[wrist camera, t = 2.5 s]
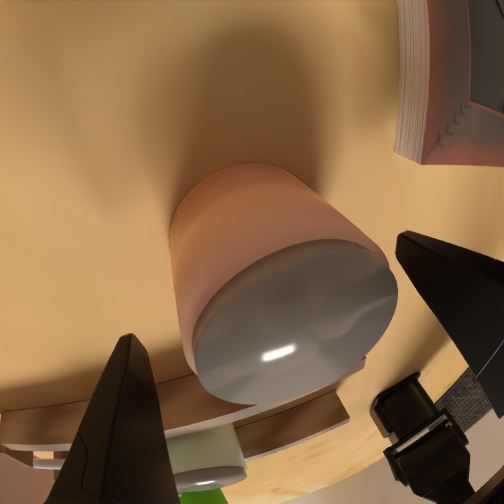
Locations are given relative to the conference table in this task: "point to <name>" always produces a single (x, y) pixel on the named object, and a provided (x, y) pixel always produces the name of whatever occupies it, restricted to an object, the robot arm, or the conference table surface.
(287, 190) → the jar
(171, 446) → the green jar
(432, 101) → the picture frame
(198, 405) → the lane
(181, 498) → the cup
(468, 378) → the storage bin
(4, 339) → the conference table surface
